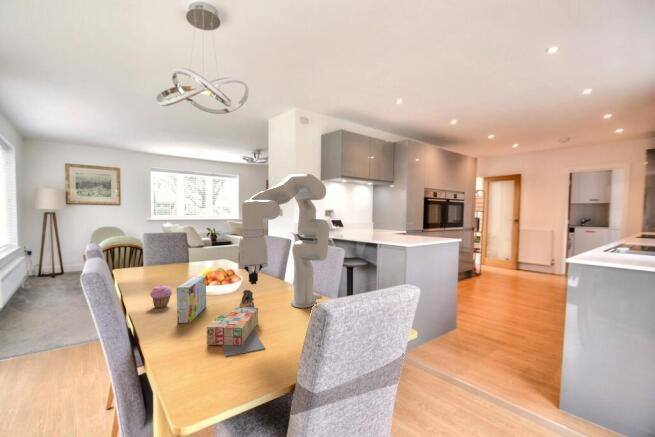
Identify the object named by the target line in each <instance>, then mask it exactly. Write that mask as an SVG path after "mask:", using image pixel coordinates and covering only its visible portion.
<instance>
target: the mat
mask: <svg viewBox="0 0 655 437" xmlns="http://www.w3.org/2000/svg"><path fill="white" fill-rule="evenodd" d="M221 346H222V350H223V352H224V356H225V357H226V358H227V357H228V358H229V357H233V356H237V355H243V354H249V353H254V352H257V351H263V350H266V347H265V346H264V343H263V342H262V340H261V338H260V337H259V336H258V334H257V332H256V330H255V328H254V329H253V330H252V332H251V333H250V334H249V336H248V337H247V339H246V340H245V342H244V343H243V345H242V346H233V345H221Z"/></svg>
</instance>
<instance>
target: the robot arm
mask: <svg viewBox="0 0 655 437" xmlns="http://www.w3.org/2000/svg"><path fill="white" fill-rule="evenodd" d="M326 194H327V187H326V185H325V183H323V182H322V181H321V180H320V179H319V178H317V177H316V176H315V175H313V174H312V173H294V174H289V175H288V176H286V177H285V178H284V179H283V180H281V182H279V183H278V184H277V185H276V186H272V187H271V188H268V189H265V190H263V191H259V192H258V193H256V194H254V195H253V196H252V197H250V198H249V199H248V200H244V201H242V204H241V213H242V216H241V218H242V220H241V221H242V222H241V224H242V237H240V238H239V243H238V253H237V254H238V256H237V262H238V265H237V266H238V267H237V268H238V269H239V270H245V271H246V272H247V273H248V282H249V283H250V284H251V285H257V282H258V280H259V272H260V271H261V270H262V269H264V268H267V267H268V266H269V264H268V260H269V259H268V256H269V254H268V246H267V239H266V237H264V236H265V235H268V230H265V229H264V220H265V221H267V220H269V221H271V220H275V219H277V218H278V217H279V216H280V214H281V205H284V204H287V203H289V202H290V201H292V199H293V198H294V199H295V201H296V203H297V206H298V208H299V209H298V212H299V213H298V220H297V221H298V223H297V235H298V236H299V237H301V238H305V239H316V240H304V239H303V240H301V239H300V240H297V241H295V242H294V243H293V244H292V247H291V248H292V258H293V268H294V269H293V270H294V271H293V300H292V299H291V301H290V305H291V306H292V307H294V308H300V309H302V308H303V309H306V308H307V307H308V308H312V307H314V306H313V305H314V304H316V305H317V300H322V299H323V295H322V294H320V295H318V294H314V266H313V264H312V262H311V261H315V262H323V261H325V260H326V259H327V256H328V251H329V250H328V249H329V241H330V240H329V238H330V226H329V225H330V224H329V222H328V221H327V220H326V219H321V218H316V216H317V209H316V205H315V204H314V203H313V201H322V200H323V199H325V197H326ZM252 266H254V269H253V267H252ZM311 306H312V307H311Z"/></svg>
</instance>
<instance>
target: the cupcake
mask: <svg viewBox="0 0 655 437" xmlns="http://www.w3.org/2000/svg"><path fill="white" fill-rule="evenodd" d="M149 296H150V298H152V303H153V307H154V308H158V309H162V308H165V307H167V305H168V304H169V302H170V298H171V296H172V289H171V287H170V286H168V285H158V286H155V287H153V288H152V289H151V291H150V293H149Z"/></svg>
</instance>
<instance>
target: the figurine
mask: <svg viewBox="0 0 655 437" xmlns="http://www.w3.org/2000/svg"><path fill="white" fill-rule="evenodd" d="M242 294H243V295H242V297H241V301H240V303H239V307H238V308H244V307H246V308H256V307H255V303H254V301H255V298H253V294H254V293H253V292H252V291H251V290H250V289H245V290H243V291H242Z"/></svg>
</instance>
